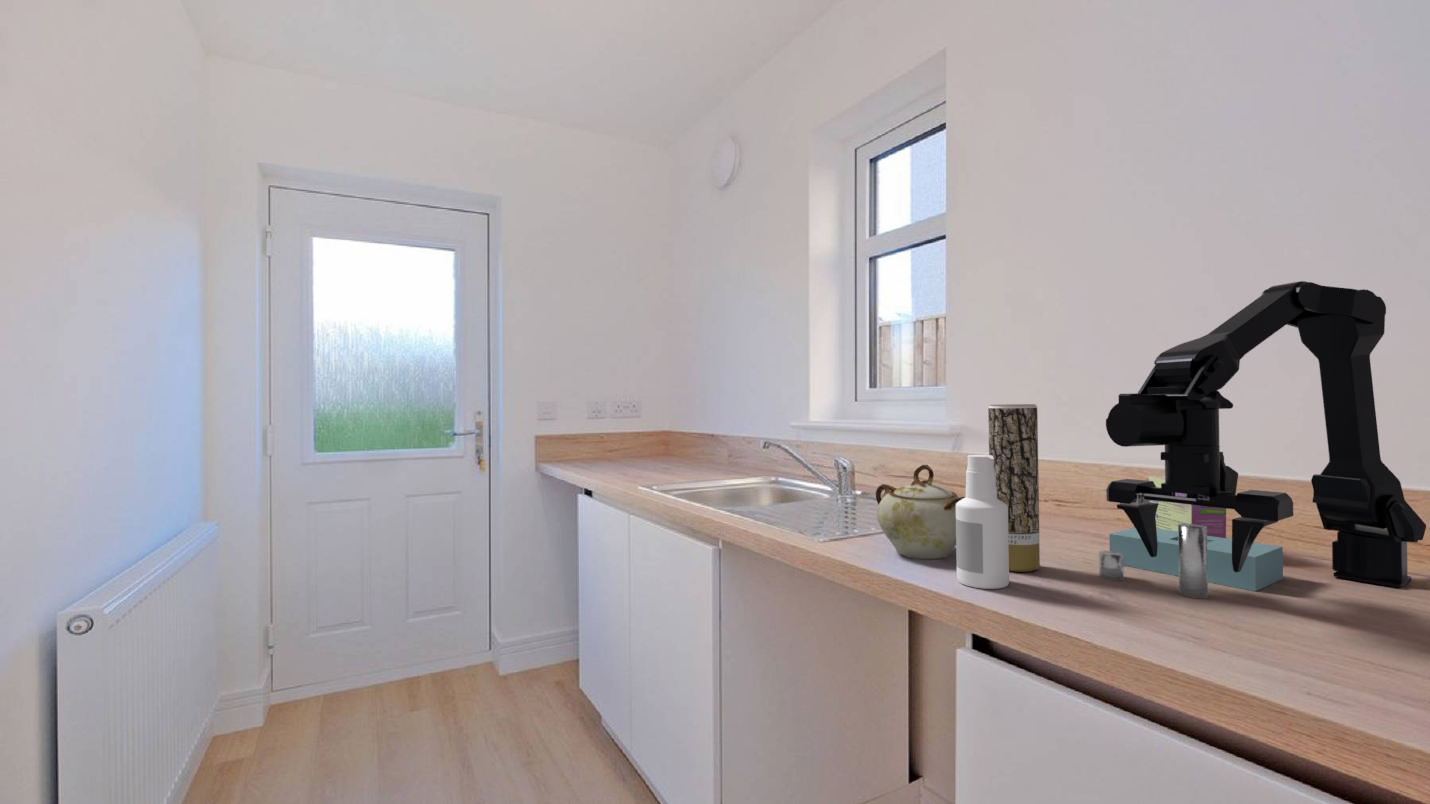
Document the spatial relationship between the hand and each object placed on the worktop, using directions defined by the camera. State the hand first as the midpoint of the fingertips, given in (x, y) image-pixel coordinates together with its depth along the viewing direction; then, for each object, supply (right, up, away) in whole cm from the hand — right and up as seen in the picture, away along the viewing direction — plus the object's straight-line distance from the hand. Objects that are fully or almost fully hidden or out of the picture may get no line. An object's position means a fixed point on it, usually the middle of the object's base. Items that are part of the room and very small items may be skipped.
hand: (1193, 563), depth 82 cm
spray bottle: (-25, -5, +7) cm, 26 cm away
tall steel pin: (0, -4, 0) cm, 4 cm away
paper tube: (-16, -5, +14) cm, 22 cm away
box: (+17, -4, +24) cm, 29 cm away
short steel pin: (-5, -4, +8) cm, 11 cm away
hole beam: (+8, -4, +11) cm, 14 cm away
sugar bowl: (-27, -5, +24) cm, 37 cm away
